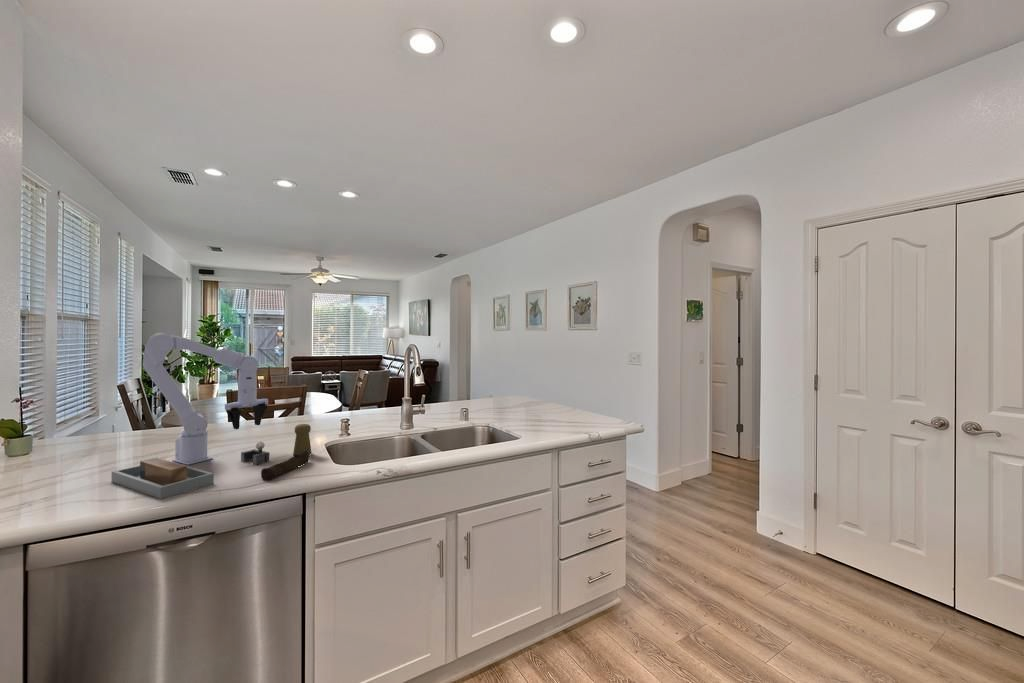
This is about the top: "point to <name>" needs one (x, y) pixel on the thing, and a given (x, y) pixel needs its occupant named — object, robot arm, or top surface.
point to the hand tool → (285, 466)
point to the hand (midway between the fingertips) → (247, 426)
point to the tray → (133, 481)
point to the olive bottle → (302, 439)
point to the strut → (162, 471)
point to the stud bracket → (256, 454)
